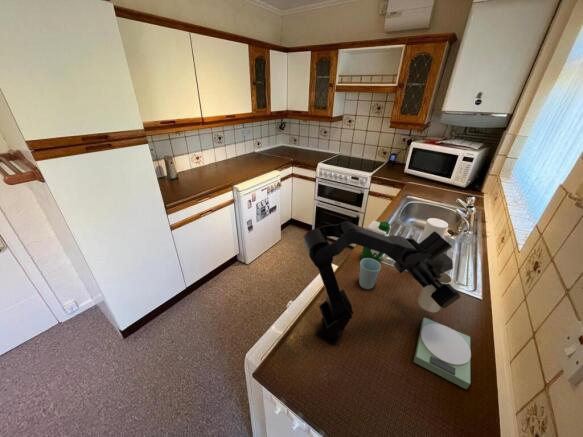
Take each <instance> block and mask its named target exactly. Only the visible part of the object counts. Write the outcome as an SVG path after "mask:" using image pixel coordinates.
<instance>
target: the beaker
mask: <svg viewBox="0 0 583 437" xmlns="http://www.w3.org/2000/svg"><path fill="white" fill-rule="evenodd" d="M440 275H441V276H442V277H441V278H439V279H438V280H439V281H440V282H441V283H442V284H450V285H451V286H452V284H453V282H454V279H453V277H452V276H451V274H450V273H448V272H447V271H446V272H444V273H442V274H440ZM435 283H436V282H435ZM436 284H437V283H436ZM437 285H438V284H437ZM438 286H439V285H438ZM439 287H440V286H439ZM420 290H421V291H420V293H419V295H418V297H417V303H418V305H419V306H420V307H421V308H422V309H423V310H424V311H426V312H429V313H437V312H440V310H441V309H442V308H441V307H440V306H439V305H438V304H437V303H436V302H435V301H434V300H433V298H432V297H431V295H432V293H433V292H435V290H436V288H435V287H434V286H433V285H429V286H426V287H423V286H422V288H421V289H420Z"/></svg>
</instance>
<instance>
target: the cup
mask: <svg viewBox="0 0 583 437" xmlns="http://www.w3.org/2000/svg"><path fill="white" fill-rule="evenodd" d="M361 259H362V258H361ZM381 269H382V265H381V263H380V262H378V261H376V260H374V259H371V258H365V259H362V260H360V262H359V277H358V278H359V280H358V284H359V287H361V288H362V289H365V290H371V289H373V288H374V285H375V283H376V281H377V278H378V276H379V274H380V271H381Z"/></svg>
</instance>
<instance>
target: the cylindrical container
mask: <svg viewBox="0 0 583 437" xmlns="http://www.w3.org/2000/svg"><path fill="white" fill-rule="evenodd" d="M448 228H449V223H448V222H447V221H445V220H443V219H440V218H437V217H430V218H428V219H427V220H426V222H425V225H424V228H423V231H422V235H421V238H420V240H419V243H421V242H422V241H423V240H424V239H426V238H427V237H428V236H429V235H430V234H431V233H433V232H434V231H435V232H437V233H438V234H439V235H440V236H441V237H442V238H443V239H444V238H445V235H446V233H447V230H448ZM426 260H427V259H426Z"/></svg>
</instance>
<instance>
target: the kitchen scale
mask: <svg viewBox="0 0 583 437" xmlns="http://www.w3.org/2000/svg"><path fill="white" fill-rule="evenodd" d="M422 318H423V319H422V320H421V324H420V328H419V334H418V338H417V343H416V348H415V352H414V358H413V363H415V364H416V365H418V366H420V367H422V368H424V369H426V370H428V371H429V372H431V373H434V374H436V375H438V376H440V377H441V378H443V379H444V380H447V381H448V382H450V383H453V384H454V385H457V386H458V387H460V388H462V389H464V390H468V388H469V387H470V385H471V358H472V351H471V336H469V335H467V334H465V333H463V332H459V331H457V330H456V329H453V328H451V327H449V326H446V325H444V324H442V323H439V322H436V321H434V320H432V319H429V318H427V317H425V316H423V317H422Z"/></svg>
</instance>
